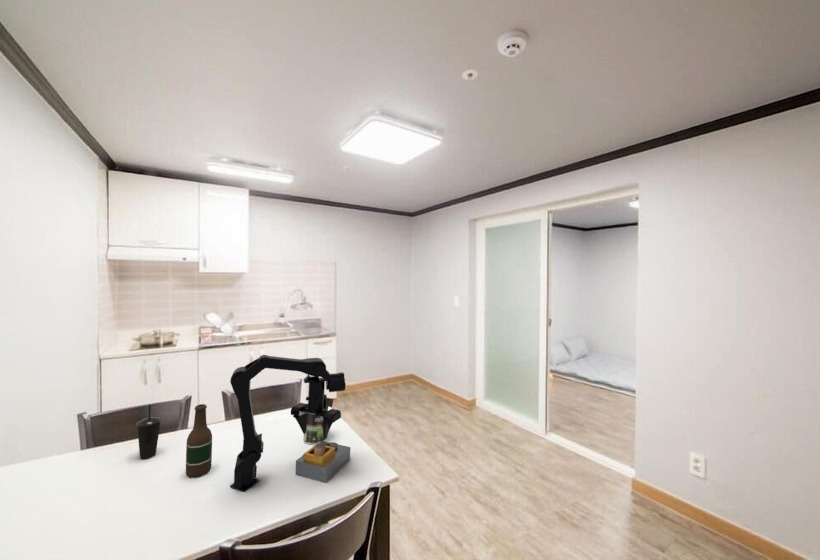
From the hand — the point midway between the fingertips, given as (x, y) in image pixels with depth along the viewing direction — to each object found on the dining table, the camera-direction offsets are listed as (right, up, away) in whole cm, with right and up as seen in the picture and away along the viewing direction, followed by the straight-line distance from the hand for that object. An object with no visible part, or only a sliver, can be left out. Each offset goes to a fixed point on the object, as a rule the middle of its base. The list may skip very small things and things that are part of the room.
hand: (314, 435), depth 119 cm
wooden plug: (+2, -13, -1) cm, 13 cm away
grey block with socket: (+3, -13, +2) cm, 13 cm away
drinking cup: (-67, -12, +7) cm, 69 cm away
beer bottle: (-41, -12, -3) cm, 43 cm away
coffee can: (-7, -13, +24) cm, 28 cm away
